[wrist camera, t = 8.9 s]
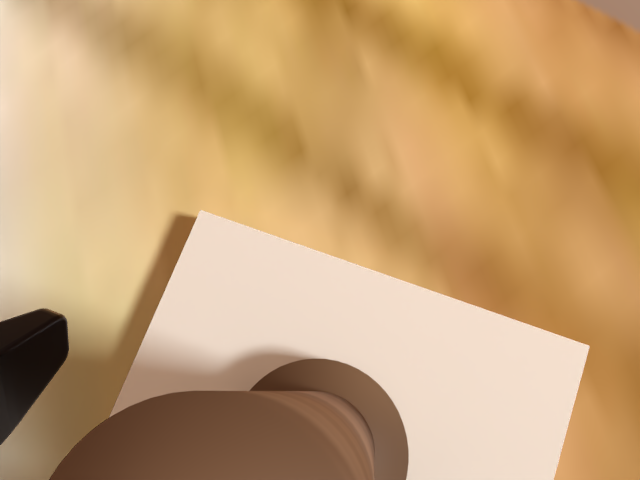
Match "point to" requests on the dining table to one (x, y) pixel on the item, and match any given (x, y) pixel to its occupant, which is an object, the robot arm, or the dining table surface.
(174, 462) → the tamper
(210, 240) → the tile
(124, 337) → the dining table surface
